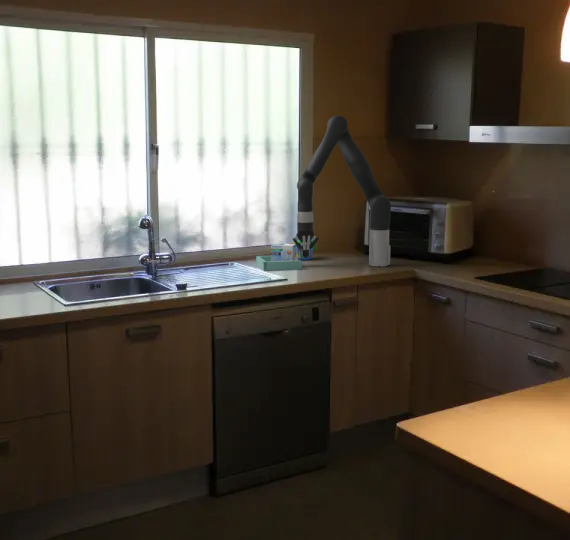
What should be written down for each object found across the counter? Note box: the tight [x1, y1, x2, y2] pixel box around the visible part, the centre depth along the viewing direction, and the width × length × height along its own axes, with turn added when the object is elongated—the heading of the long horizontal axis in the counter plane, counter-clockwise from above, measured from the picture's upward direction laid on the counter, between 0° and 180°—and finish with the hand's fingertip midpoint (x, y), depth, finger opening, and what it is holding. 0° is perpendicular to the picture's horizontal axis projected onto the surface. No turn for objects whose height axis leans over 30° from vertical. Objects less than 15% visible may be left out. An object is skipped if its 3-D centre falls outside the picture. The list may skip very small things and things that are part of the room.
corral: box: [255, 255, 303, 272], centre depth 356 cm, size 18×18×4 cm
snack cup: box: [292, 238, 318, 261], centre depth 377 cm, size 16×10×10 cm
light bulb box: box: [270, 242, 296, 261], centre depth 356 cm, size 11×7×11 cm, turn 78°
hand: (305, 257), depth 358 cm, fingers closed
